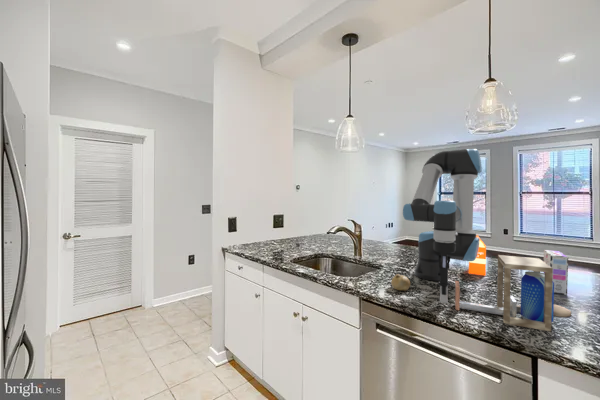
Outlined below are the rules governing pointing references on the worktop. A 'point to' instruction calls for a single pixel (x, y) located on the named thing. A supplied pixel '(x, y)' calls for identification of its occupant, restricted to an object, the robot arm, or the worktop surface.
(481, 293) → the worktop surface
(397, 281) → the onion
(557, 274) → the candy box
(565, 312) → the coaster
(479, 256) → the orange juice
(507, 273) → the wooden open frame
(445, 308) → the worktop surface
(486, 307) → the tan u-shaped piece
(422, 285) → the worktop surface
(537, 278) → the beer can
